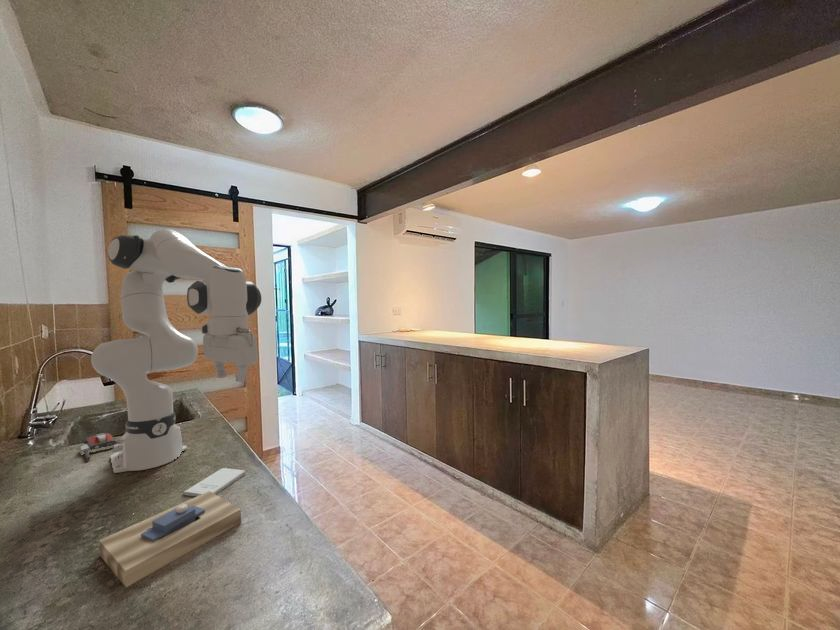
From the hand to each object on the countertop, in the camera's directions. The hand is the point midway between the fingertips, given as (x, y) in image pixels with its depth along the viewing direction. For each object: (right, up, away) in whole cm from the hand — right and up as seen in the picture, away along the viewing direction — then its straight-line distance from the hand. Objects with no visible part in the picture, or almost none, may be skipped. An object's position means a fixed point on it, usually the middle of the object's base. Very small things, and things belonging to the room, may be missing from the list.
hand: (230, 379), depth 87 cm
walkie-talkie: (-60, -30, +25) cm, 72 cm away
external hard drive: (-6, -30, +3) cm, 31 cm away
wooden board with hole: (-1, -30, -18) cm, 35 cm away
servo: (-1, -30, -18) cm, 35 cm away
